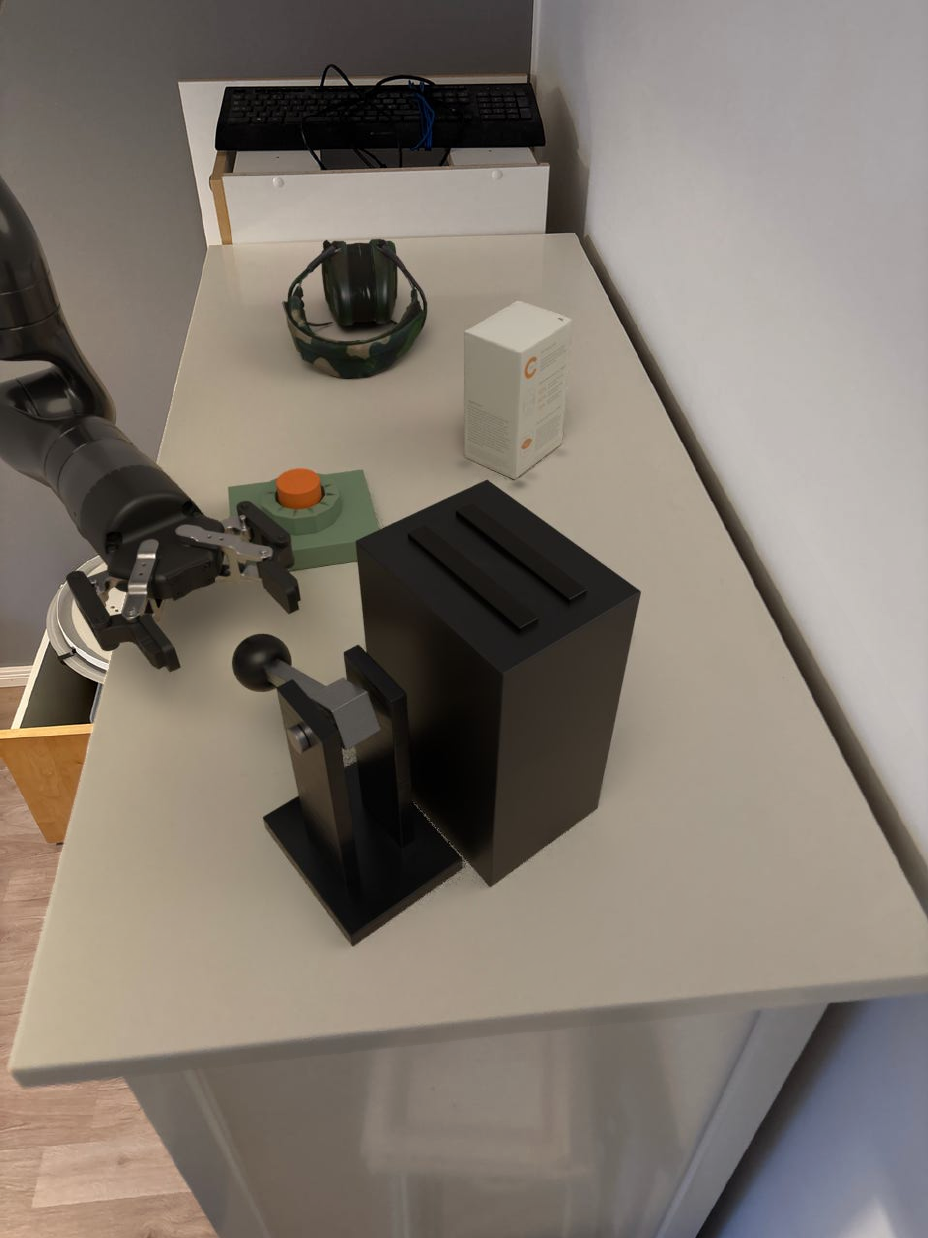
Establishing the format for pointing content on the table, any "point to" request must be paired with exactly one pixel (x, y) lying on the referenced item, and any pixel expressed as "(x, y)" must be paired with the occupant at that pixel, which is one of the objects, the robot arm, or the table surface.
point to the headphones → (356, 308)
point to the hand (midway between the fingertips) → (235, 630)
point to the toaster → (498, 668)
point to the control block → (318, 518)
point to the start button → (299, 488)
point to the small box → (515, 387)
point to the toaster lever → (305, 687)
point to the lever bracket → (357, 809)
